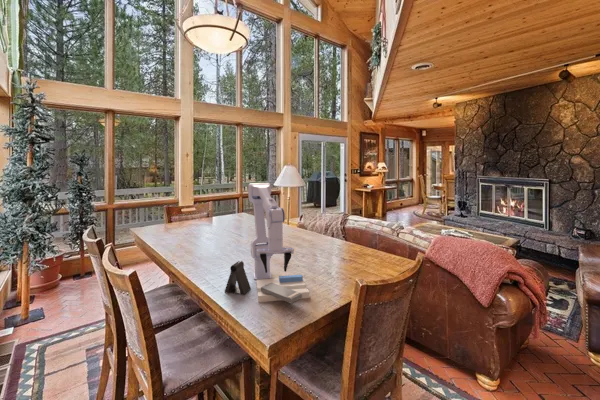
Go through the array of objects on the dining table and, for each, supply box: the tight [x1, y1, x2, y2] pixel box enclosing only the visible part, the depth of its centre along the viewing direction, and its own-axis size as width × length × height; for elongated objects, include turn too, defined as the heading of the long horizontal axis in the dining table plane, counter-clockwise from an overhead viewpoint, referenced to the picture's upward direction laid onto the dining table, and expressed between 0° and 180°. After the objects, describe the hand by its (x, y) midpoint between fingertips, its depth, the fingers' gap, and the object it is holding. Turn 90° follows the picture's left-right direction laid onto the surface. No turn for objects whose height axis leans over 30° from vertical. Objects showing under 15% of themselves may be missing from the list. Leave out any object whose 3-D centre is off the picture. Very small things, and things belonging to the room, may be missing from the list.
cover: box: [261, 283, 302, 304], centre depth 111 cm, size 6×17×2 cm, turn 50°
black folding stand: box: [224, 260, 252, 296], centre depth 120 cm, size 9×6×12 cm, turn 73°
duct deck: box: [256, 277, 310, 303], centre depth 120 cm, size 16×20×2 cm
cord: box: [278, 274, 304, 283], centre depth 125 cm, size 2×10×2 cm, turn 100°
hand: (275, 271), depth 117 cm, fingers open, 7 cm apart
